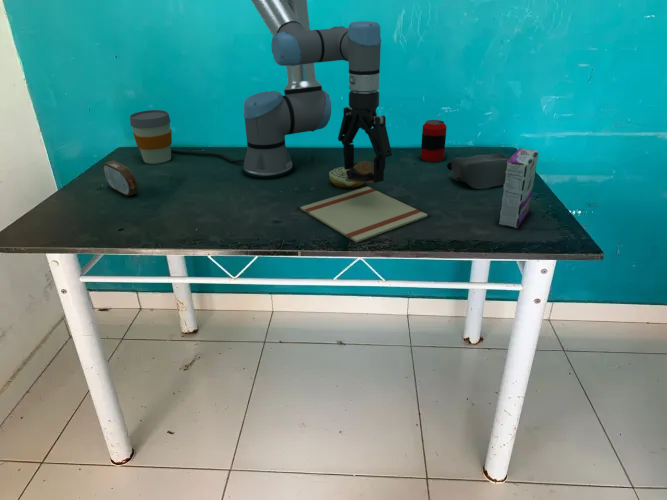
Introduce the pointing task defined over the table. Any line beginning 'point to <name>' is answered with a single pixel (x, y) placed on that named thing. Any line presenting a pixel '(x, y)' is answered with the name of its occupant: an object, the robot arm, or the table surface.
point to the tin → (120, 178)
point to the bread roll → (361, 172)
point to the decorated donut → (342, 178)
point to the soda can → (433, 140)
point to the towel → (363, 213)
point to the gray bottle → (479, 170)
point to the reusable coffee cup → (152, 135)
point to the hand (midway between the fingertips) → (363, 174)
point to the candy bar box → (518, 187)
